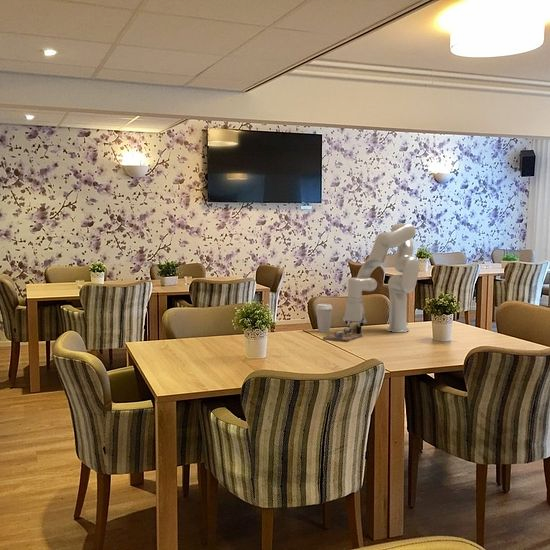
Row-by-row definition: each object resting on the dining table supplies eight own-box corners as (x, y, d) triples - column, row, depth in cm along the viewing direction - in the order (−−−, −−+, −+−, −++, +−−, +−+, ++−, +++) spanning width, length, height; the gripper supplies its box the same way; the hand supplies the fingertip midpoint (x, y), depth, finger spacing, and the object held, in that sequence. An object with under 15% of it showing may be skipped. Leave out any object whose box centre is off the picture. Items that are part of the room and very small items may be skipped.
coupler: (352, 333, 344) (352, 322, 344) (359, 333, 342) (360, 323, 341) (349, 334, 341) (349, 323, 340) (356, 334, 338) (356, 324, 338)
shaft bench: (338, 334, 341) (339, 325, 341) (362, 336, 333) (362, 328, 333) (322, 339, 326) (322, 330, 326) (346, 342, 318) (347, 333, 318)
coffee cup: (312, 330, 352) (312, 304, 350) (327, 329, 356) (327, 303, 354) (320, 333, 343) (320, 306, 342) (335, 332, 347) (335, 305, 346)
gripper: (337, 300, 341) (337, 333, 343) (366, 302, 332) (365, 336, 333) (344, 298, 347) (343, 331, 349) (372, 300, 338) (371, 334, 340)
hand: (354, 333), depth 341 cm, fingers closed on coupler, 4 cm apart
